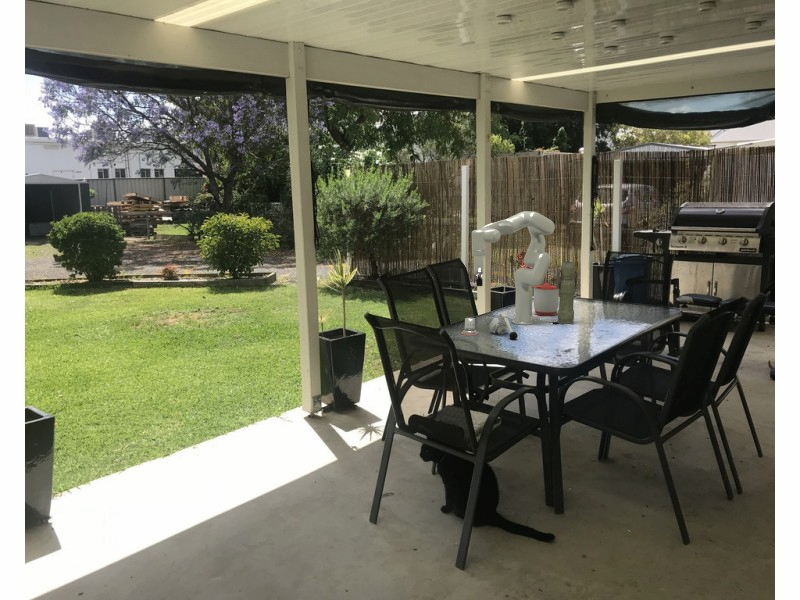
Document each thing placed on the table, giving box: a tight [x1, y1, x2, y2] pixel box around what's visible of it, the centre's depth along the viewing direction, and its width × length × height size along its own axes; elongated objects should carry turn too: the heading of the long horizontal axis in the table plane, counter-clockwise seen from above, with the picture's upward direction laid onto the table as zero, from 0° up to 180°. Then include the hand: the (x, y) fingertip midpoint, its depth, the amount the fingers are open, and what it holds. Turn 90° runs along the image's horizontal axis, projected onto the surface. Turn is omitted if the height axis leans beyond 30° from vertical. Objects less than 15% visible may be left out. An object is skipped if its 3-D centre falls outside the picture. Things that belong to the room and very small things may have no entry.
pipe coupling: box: [462, 317, 477, 334], centre depth 341 cm, size 7×7×8 cm
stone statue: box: [556, 261, 579, 325], centre depth 364 cm, size 9×12×35 cm
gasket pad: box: [460, 331, 479, 336], centre depth 341 cm, size 9×9×1 cm
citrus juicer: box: [532, 281, 560, 317], centre depth 392 cm, size 16×17×20 cm
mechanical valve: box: [489, 311, 519, 341], centre depth 334 cm, size 10×18×15 cm
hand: (479, 284), depth 347 cm, fingers open, 9 cm apart
